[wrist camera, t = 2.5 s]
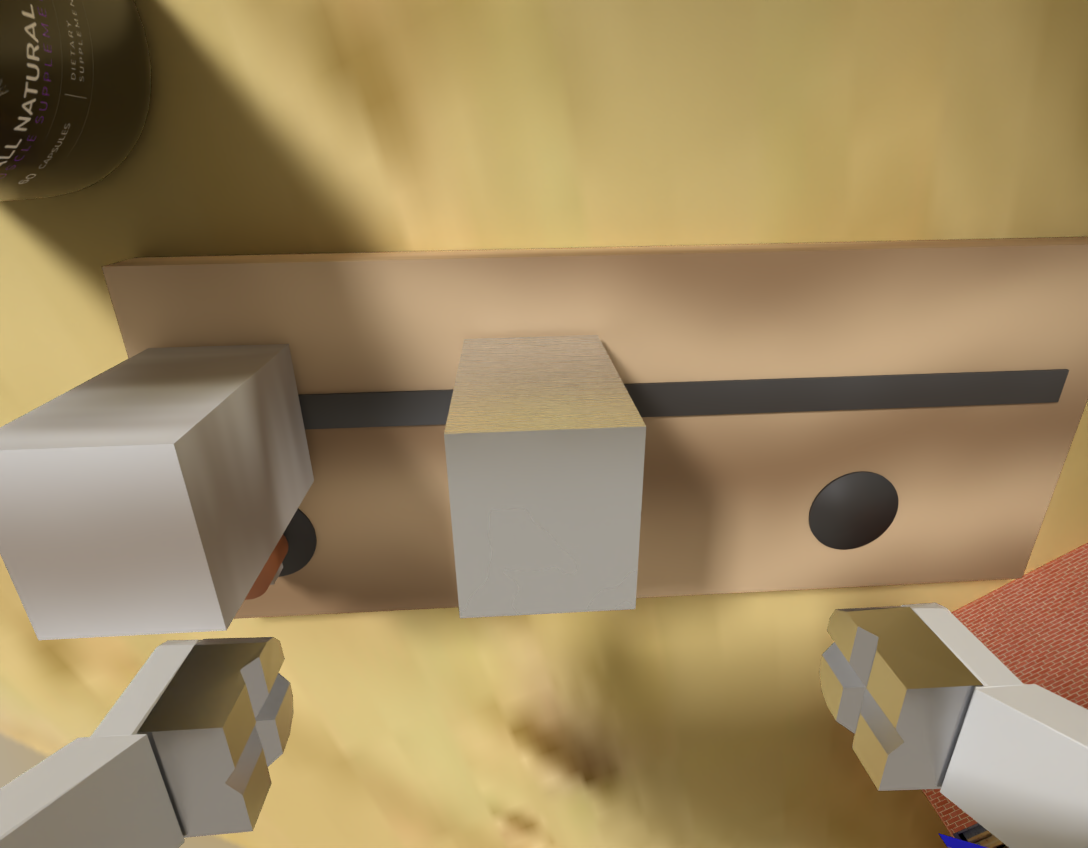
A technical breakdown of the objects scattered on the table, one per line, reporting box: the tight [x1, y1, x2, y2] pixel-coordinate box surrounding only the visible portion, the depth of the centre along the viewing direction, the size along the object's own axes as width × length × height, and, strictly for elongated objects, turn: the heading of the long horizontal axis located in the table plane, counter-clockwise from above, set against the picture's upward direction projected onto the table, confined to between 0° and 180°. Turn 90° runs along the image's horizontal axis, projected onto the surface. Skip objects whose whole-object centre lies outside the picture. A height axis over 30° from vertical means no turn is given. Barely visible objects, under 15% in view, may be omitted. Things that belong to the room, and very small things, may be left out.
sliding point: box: [444, 335, 646, 618], centre depth 15 cm, size 7×4×6 cm, turn 1°
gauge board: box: [0, 237, 1088, 640], centre depth 16 cm, size 11×27×8 cm, turn 91°
